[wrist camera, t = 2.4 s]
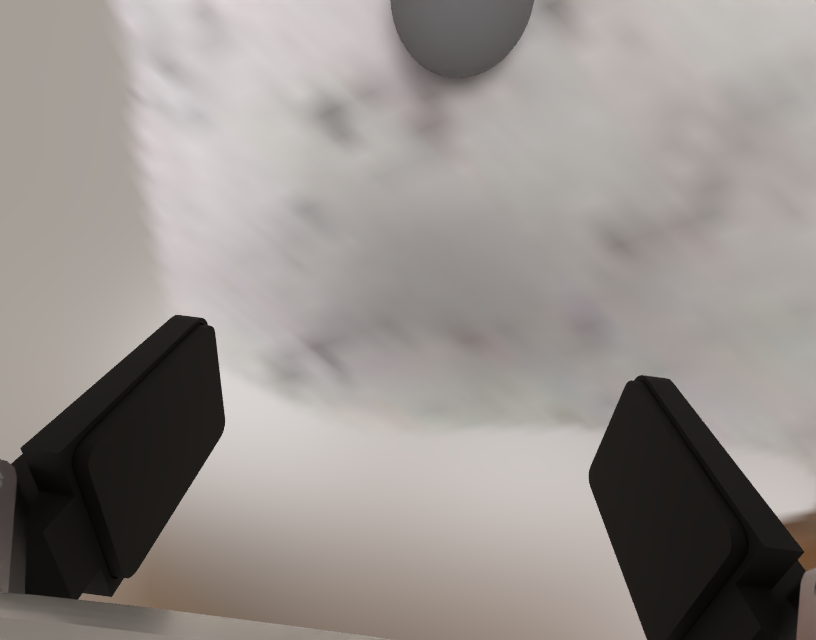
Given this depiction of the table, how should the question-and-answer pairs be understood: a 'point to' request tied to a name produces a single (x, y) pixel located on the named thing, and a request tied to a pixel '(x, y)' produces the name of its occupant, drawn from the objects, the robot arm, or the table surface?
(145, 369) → the robot arm
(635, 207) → the table surface
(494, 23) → the grey ball
